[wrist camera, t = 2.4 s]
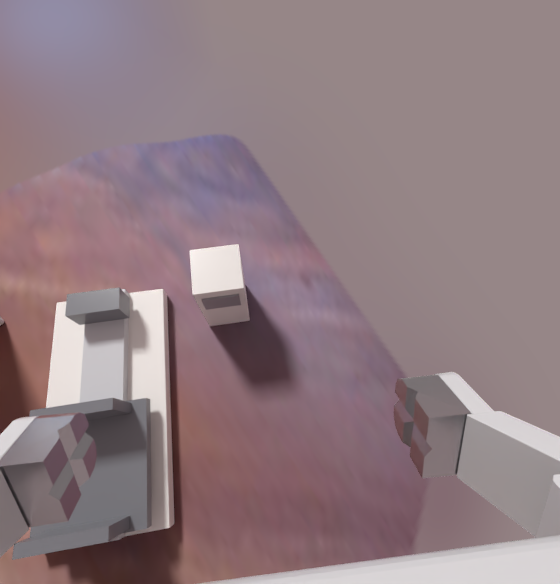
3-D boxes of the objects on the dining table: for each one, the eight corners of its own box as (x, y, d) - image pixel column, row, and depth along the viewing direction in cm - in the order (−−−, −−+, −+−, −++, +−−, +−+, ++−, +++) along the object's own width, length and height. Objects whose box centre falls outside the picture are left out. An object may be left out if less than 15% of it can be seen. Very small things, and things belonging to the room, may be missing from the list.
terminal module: (250, 322, 34) (244, 290, 27) (209, 328, 34) (192, 297, 27) (245, 284, 36) (238, 244, 29) (206, 289, 36) (189, 250, 28)
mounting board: (174, 523, 28) (169, 527, 26) (43, 548, 27) (30, 553, 25) (167, 294, 35) (162, 288, 34) (65, 308, 35) (56, 302, 33)
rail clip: (155, 530, 26) (128, 551, 21) (45, 551, 25) (-11, 578, 20) (152, 290, 34) (131, 263, 29) (67, 301, 33) (31, 276, 28)
